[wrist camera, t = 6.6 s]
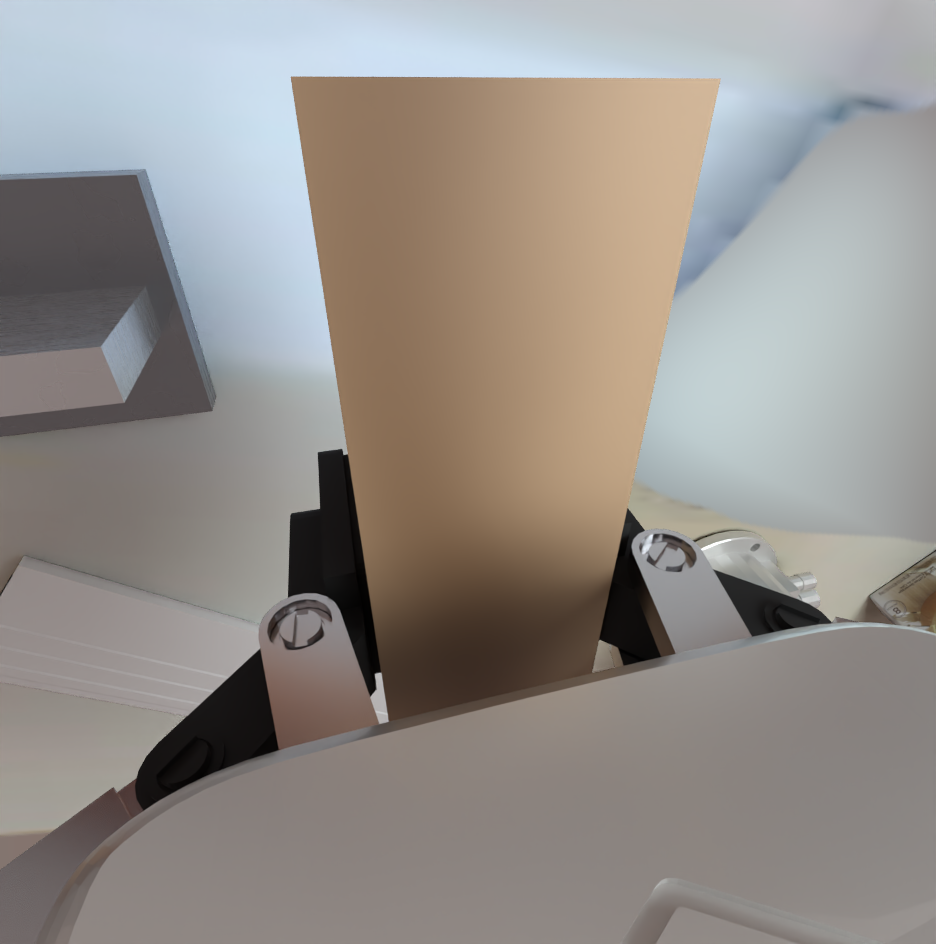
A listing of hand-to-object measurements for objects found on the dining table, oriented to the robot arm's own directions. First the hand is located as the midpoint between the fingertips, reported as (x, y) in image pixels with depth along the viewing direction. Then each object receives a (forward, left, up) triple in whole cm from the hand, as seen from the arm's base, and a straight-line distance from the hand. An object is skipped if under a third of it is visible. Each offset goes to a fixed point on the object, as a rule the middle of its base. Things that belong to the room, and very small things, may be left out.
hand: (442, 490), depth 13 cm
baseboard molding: (+13, +27, -17) cm, 35 cm away
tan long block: (0, 0, 0) cm, 1 cm away
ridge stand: (+14, 0, -17) cm, 22 cm away
